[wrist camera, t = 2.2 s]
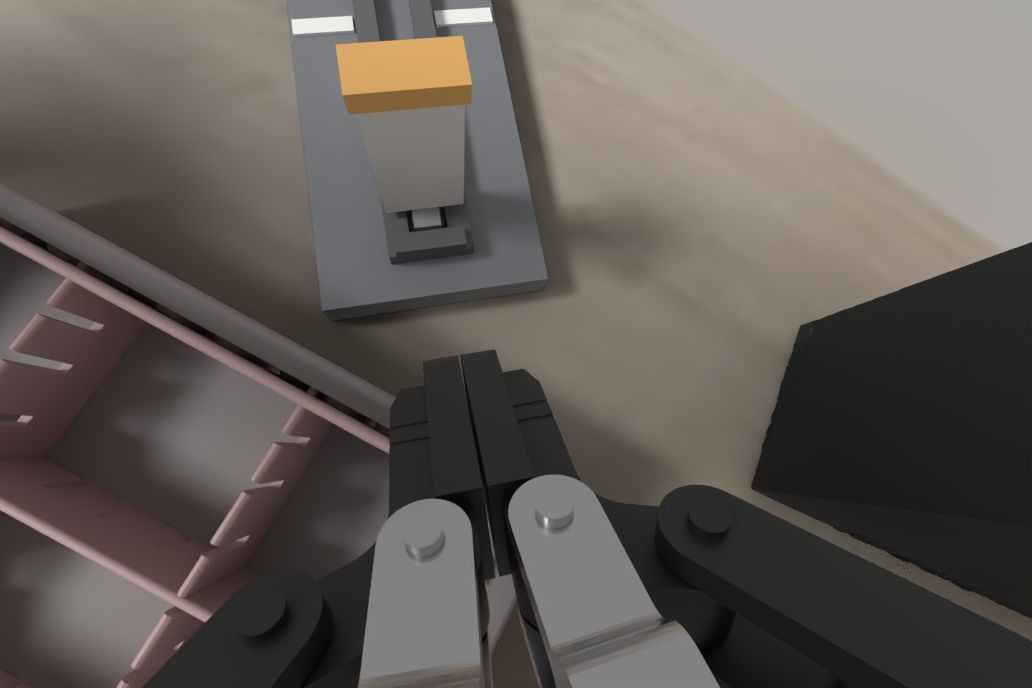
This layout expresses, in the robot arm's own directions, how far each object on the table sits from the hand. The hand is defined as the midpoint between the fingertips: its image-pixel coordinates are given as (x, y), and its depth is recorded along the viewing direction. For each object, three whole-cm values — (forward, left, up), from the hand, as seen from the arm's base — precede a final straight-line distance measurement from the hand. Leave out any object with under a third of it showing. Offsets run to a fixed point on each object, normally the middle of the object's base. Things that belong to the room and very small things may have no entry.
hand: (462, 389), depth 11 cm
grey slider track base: (-14, +13, -17) cm, 26 cm away
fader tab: (-9, +8, -15) cm, 19 cm away
